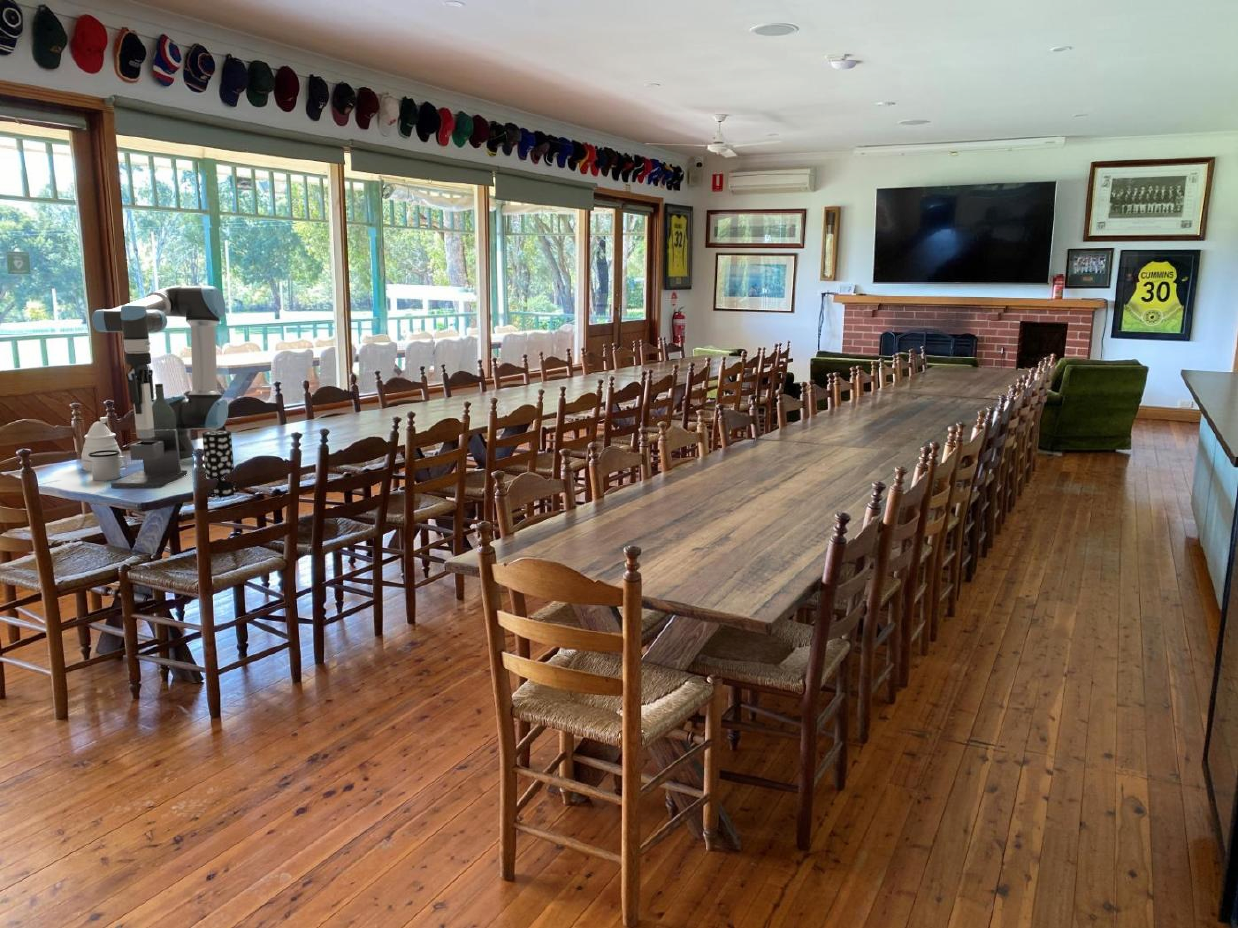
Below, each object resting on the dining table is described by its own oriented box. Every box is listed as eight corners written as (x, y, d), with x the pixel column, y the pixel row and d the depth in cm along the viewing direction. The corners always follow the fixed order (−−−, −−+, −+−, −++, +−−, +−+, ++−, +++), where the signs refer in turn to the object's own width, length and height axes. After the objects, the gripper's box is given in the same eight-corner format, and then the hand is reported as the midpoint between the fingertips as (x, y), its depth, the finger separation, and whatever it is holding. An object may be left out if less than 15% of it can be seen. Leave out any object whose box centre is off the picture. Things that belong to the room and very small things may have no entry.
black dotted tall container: (239, 491, 296) (235, 430, 292) (230, 497, 288) (224, 435, 284) (213, 491, 296) (208, 430, 292) (203, 497, 288) (197, 435, 284)
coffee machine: (141, 474, 321) (136, 429, 318) (187, 474, 321) (183, 429, 318) (111, 487, 301) (106, 439, 298) (160, 487, 302) (155, 439, 298)
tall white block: (142, 436, 310) (137, 383, 306) (154, 436, 310) (149, 383, 306) (136, 438, 306) (131, 384, 302) (149, 438, 306) (143, 384, 303)
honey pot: (121, 462, 342) (116, 414, 338) (124, 468, 331) (119, 419, 328) (81, 465, 335) (75, 417, 331) (83, 472, 324) (78, 421, 321)
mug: (100, 482, 308) (97, 456, 306) (85, 479, 313) (82, 453, 311) (135, 476, 318) (132, 450, 316) (119, 473, 323) (117, 447, 321)
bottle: (172, 468, 331) (164, 385, 325) (147, 468, 331) (139, 385, 325) (185, 463, 340) (177, 382, 334) (160, 463, 340) (152, 382, 334)
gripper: (136, 354, 294) (143, 426, 299) (161, 350, 311) (167, 418, 316) (112, 354, 294) (120, 426, 299) (138, 350, 311) (145, 418, 315)
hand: (144, 422), depth 307 cm, fingers closed on tall white block, 4 cm apart
